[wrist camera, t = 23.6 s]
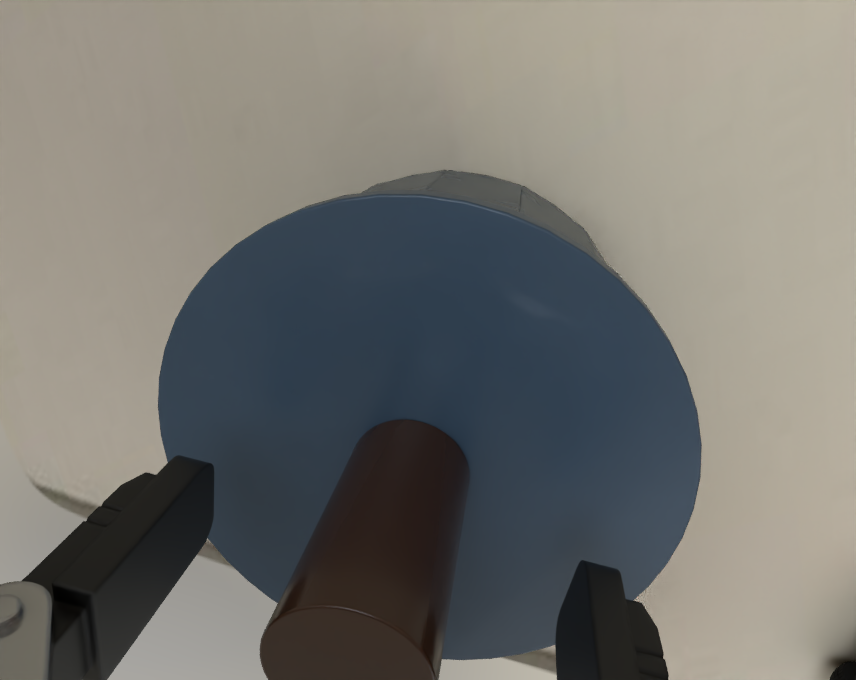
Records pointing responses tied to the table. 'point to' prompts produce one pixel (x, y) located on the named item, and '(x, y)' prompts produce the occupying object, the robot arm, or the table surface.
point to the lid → (426, 429)
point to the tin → (494, 198)
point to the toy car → (845, 672)
